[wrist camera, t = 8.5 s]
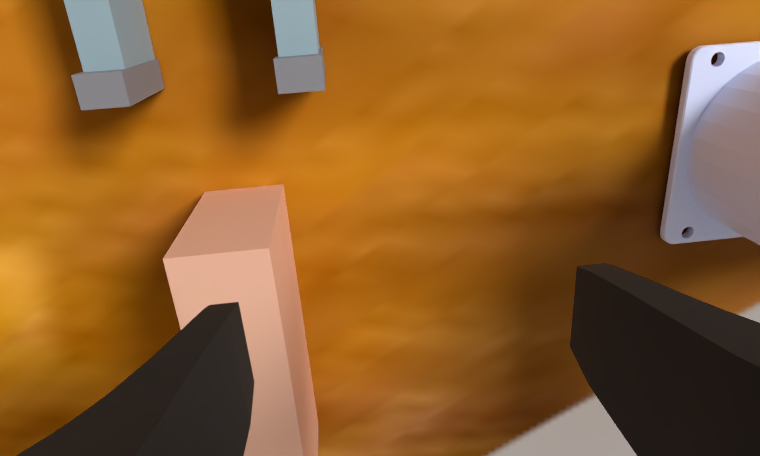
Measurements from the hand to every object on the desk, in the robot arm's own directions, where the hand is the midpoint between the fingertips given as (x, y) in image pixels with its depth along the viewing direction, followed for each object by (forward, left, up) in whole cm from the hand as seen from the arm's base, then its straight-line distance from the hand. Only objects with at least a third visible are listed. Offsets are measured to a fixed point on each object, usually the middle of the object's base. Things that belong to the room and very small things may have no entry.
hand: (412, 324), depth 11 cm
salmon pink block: (+5, +6, -11) cm, 13 cm away
